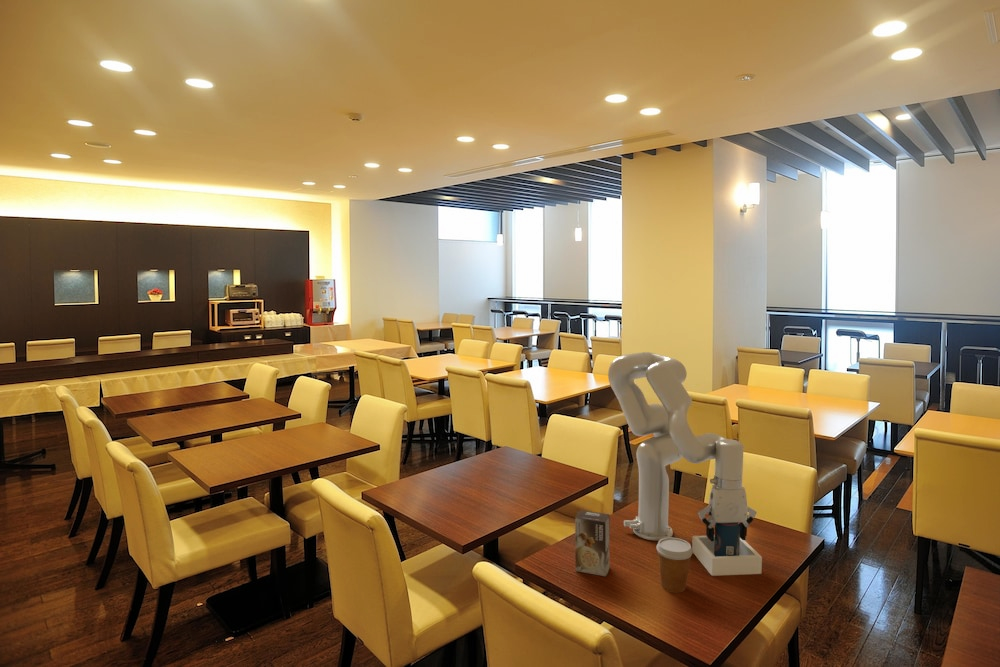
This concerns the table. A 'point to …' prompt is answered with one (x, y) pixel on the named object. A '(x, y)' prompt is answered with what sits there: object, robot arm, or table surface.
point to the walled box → (727, 558)
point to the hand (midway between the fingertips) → (726, 538)
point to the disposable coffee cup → (674, 563)
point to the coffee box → (592, 542)
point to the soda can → (727, 539)
